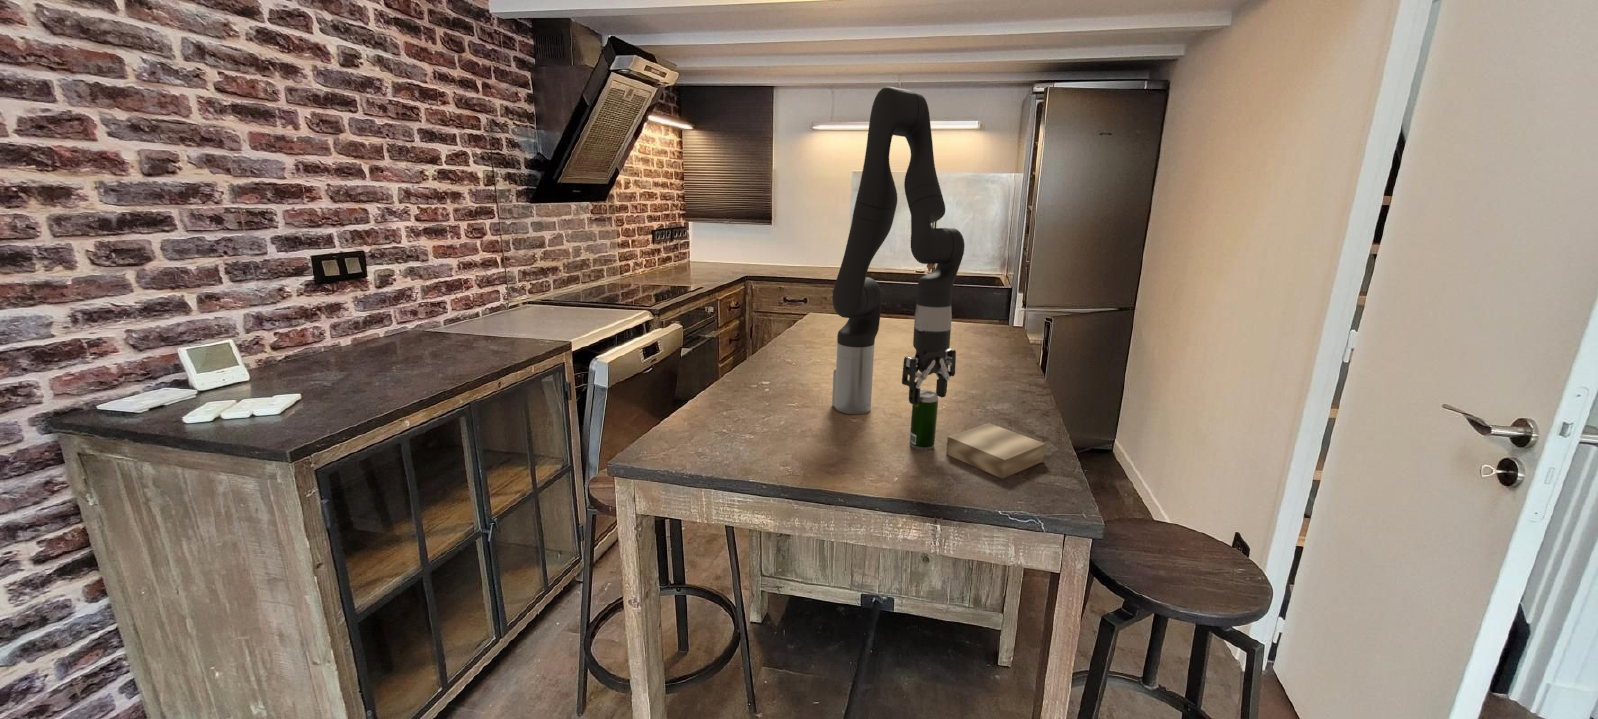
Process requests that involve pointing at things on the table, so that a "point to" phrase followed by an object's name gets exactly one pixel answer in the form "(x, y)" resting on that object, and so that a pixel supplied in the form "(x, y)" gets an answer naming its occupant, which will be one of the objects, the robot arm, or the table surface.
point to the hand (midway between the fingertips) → (927, 400)
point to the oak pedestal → (995, 450)
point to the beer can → (924, 421)
